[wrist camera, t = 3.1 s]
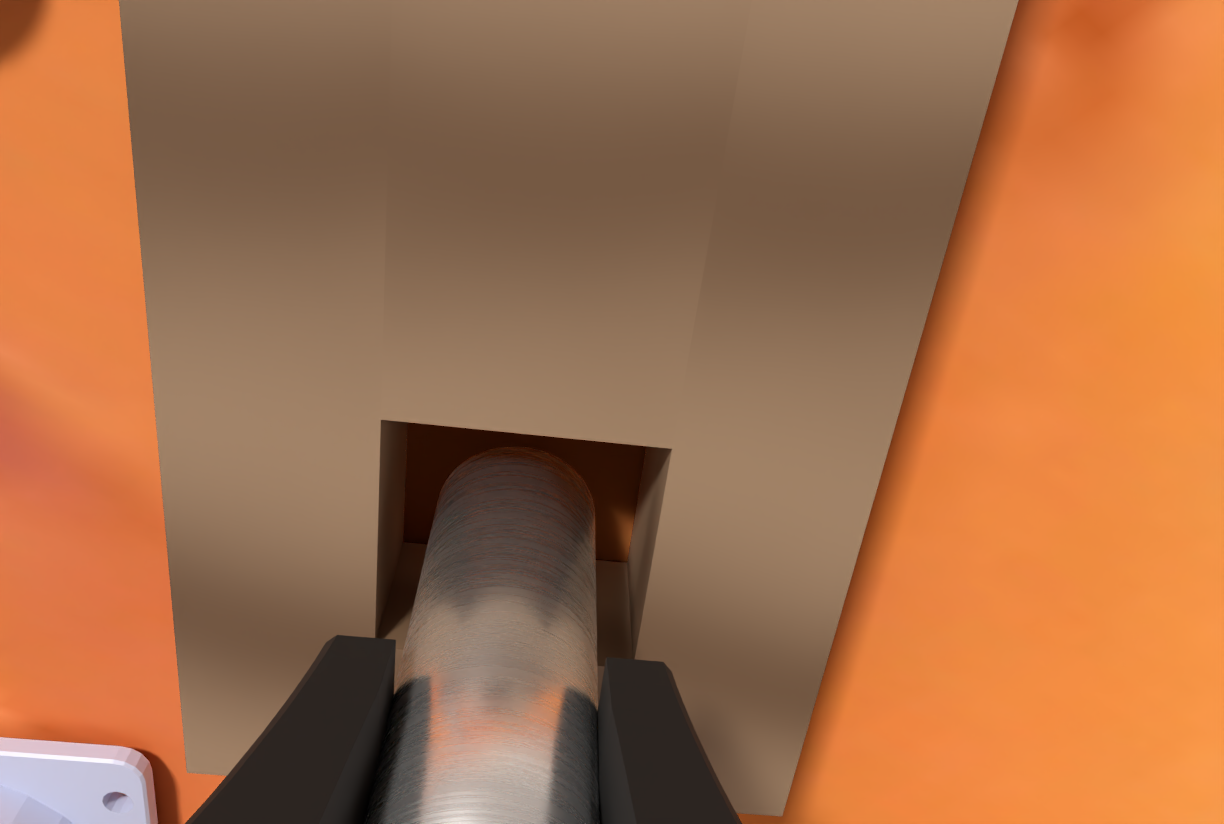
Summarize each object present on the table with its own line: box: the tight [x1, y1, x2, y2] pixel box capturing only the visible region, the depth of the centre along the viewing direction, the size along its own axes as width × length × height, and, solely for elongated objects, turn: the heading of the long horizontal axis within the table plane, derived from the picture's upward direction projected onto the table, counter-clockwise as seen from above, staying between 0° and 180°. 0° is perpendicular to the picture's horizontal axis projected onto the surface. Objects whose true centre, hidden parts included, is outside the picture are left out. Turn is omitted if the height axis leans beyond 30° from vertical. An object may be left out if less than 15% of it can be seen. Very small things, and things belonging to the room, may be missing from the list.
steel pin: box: [364, 446, 600, 824], centre depth 11 cm, size 2×2×8 cm
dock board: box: [119, 0, 1019, 816], centre depth 13 cm, size 18×9×3 cm, turn 173°
